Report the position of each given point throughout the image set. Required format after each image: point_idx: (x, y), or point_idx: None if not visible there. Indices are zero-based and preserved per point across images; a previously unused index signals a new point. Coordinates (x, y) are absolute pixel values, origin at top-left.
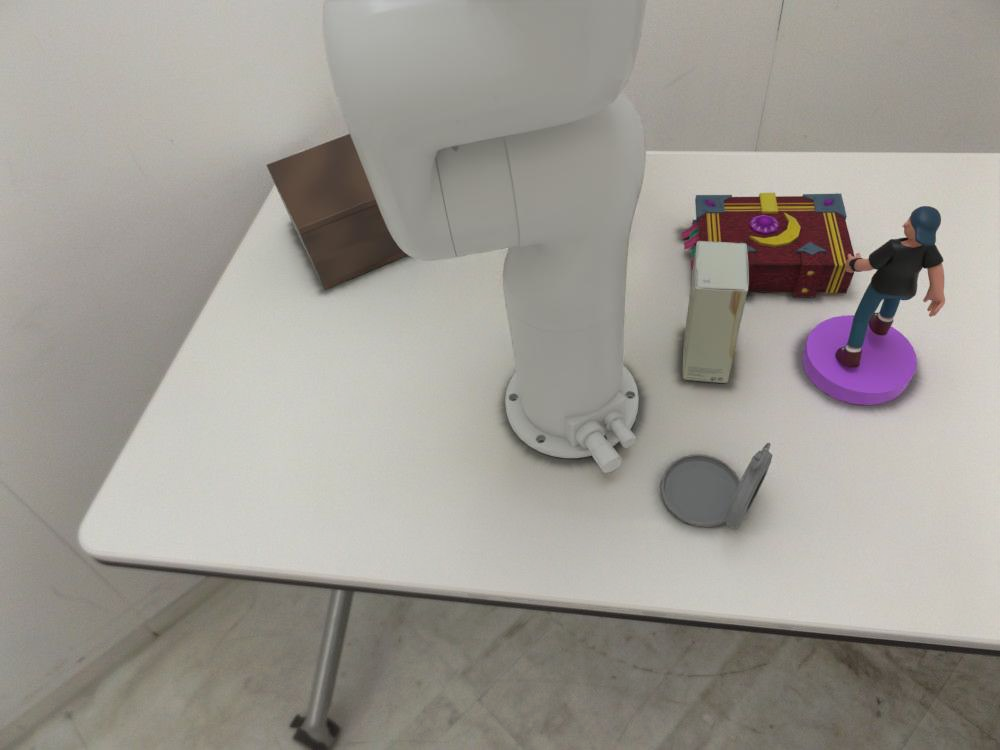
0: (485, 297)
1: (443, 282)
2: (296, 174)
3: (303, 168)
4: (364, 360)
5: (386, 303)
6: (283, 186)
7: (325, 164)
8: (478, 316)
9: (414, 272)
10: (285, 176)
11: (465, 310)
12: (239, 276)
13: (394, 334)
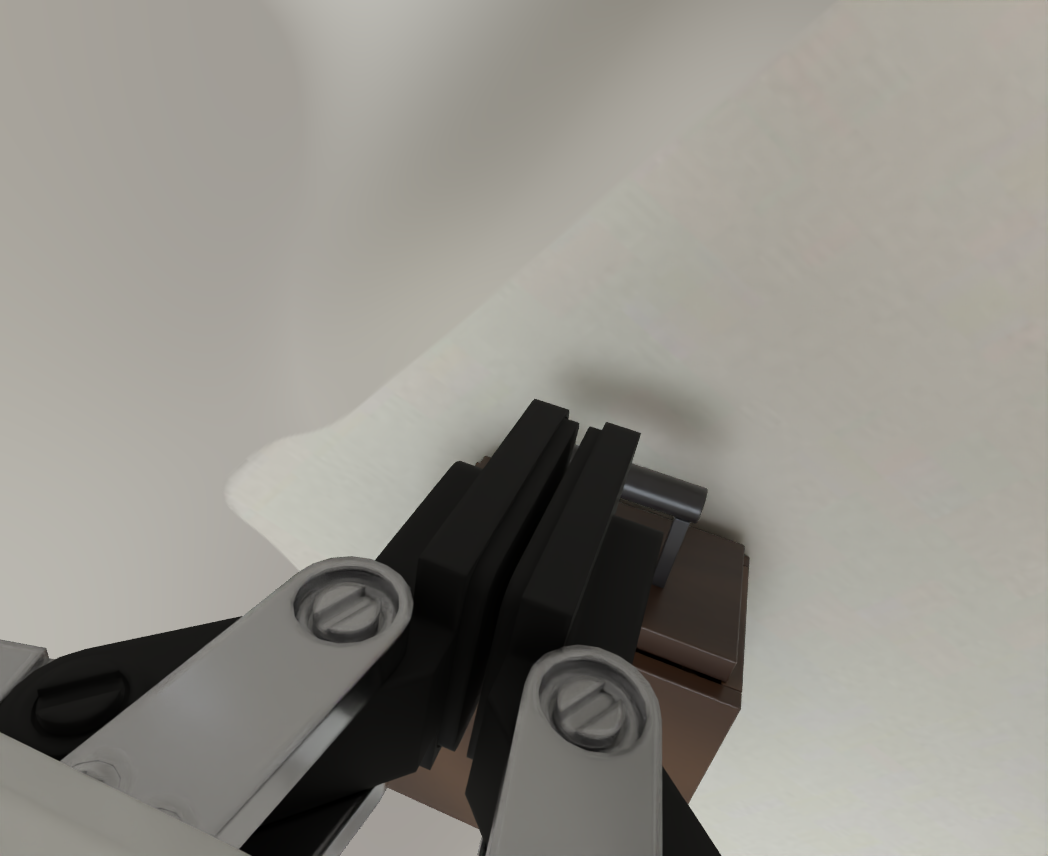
0: (1015, 631)
1: (871, 638)
2: (452, 785)
3: (442, 766)
4: (889, 826)
5: (803, 723)
6: (472, 818)
7: (465, 742)
8: (1044, 678)
9: (781, 643)
10: (441, 795)
11: (996, 677)
12: None
13: (892, 770)
